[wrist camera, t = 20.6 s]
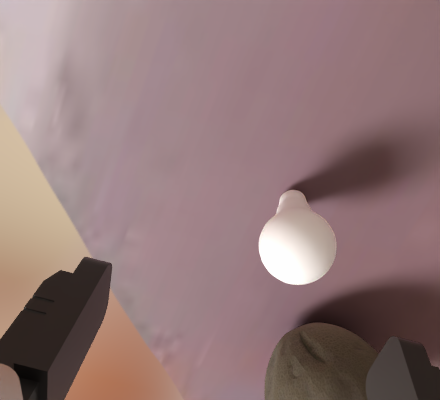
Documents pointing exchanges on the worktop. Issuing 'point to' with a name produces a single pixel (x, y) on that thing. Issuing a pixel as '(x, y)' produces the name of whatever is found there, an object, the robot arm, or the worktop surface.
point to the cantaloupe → (319, 365)
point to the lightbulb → (297, 242)
